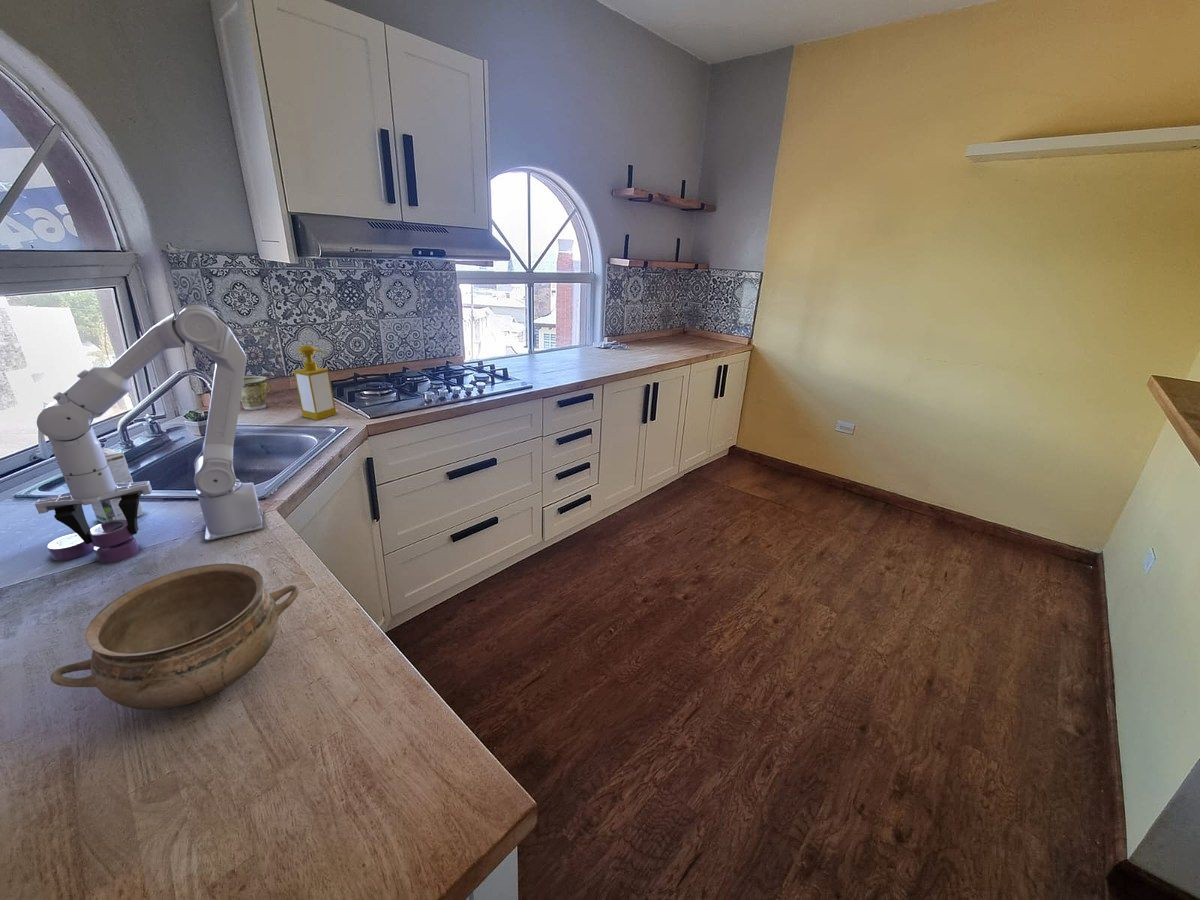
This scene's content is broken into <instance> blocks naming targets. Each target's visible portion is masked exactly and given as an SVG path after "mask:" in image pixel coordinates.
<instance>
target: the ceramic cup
mask: <svg viewBox="0 0 1200 900" xmlns="http://www.w3.org/2000/svg"><path fill="white" fill-rule="evenodd" d="M267 386H268V390H267ZM271 390H272V385H271V383H270V382H267V377H265V376H261V375H250V376H249V375H247V376H244V381H243V387H242V394H241V400H240V403H241V404H242V407H243V408H244V410H246V411H256V410H262V409H265V408H266V407H267V394H268V393H269V392H271Z"/></svg>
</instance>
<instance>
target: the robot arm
mask: <svg viewBox="0 0 1200 900" xmlns="http://www.w3.org/2000/svg"><path fill="white" fill-rule="evenodd" d="M176 313H177V314H176V318H175V312H173V313H171V314H170V315H168V316H166V317H165V318H163V319H162V320H160V321H159V322H157V323H156V324H155V325H153V326H152V327H150V328H149V330H147V331H146V332H145V333H144V334H143V335H142V336H141V337H139V339H137V340H136V341H135V342H134V343H133V344H132V345H131V346H130V347H128V349H126V351H124V352H123V353H122V354H121V355H120V356H119V357H118V358H116V360H114V362H112V363H111V364H110V365H105V366H93V367H91V368H90V369H89V370H87V369H85V368H84V369H82V370H81V371H80V372H79V373H77V375H76V377H77V378H78V379H77V380H75V382H74V383H73V384H72V385H70V386H69V387H68V388H67V389H66V390H64V391H63V392H60V391H57V392H56V393H55V394H54V395H53V396H52V398H53V401H51V402H49V403H48V404H47V405H46V406H45V407H44V408H43V409H42V410H41V412H40V413H39V414H38V416H37V418H36V426H37V429H38V431H39V432H40V433H41V434H42V435H44V436H45V437H47V439H48V442H49V443H50V445H51V447H52V448H51V451H52V453H53V455H54V458H55V460H56V462H57V465H58V467H59V470H60V472H61V474H62V477H63V478H64V482H65V484H66V487H67V489H68V492H65V493H64V492H63V493H60V494H57V495H52V496H48V497H44V498H38V499H37V500H36V501H35V503H34V506H35V508H36V511H37V513H38V514H39V515H41V514H45V513H49V511H54V513H55V514H54V515H53V517H54V519H55V520H56V521H57V522H60V523H61V524H63V525H65V526H66V527H68V528H69V529H71V530H72V531H73V532H74V533H77V534H78V535H79V536H80V537H81V539H82V540H83V541H84V542H85V544H90V543H91V539H90V537H89V535H88V531H89V530H90V529H91V528H90V526H89V523H88V521H87V519H86V516H85V512H84V508H83V506H89V505H91V504H95V503H98V502H100V501H106V500H112V499H117V498H121V500H120V502H119V504H118V505H119V507H120V509H121V510H122V512H123V514H124V516H125V518H126V520H127V523H128V527H129V530H130V532H131V534H132V535H133V534H134V535H137V534H138V531H139V526H138V517H137V511H138V505H139V501H140V500H141V496H142V495H143V496H147V495H151V494H152V492H153V488H152V485H151V482H150V480H144V481H138V482H137V481H135V482H134V481H133V483H118V484H115V481H114V479H113V476H112V474H111V471H110V468H109V466H108V463H107V460H106V458H105V455H104V453H103V450H102V449H103V447H102V445H101V442H100V440H99V439H98V437H97V435H96V432H95V429H94V427H93V425H91V424H92V423H93V421H94V419H97V418H100V417H102V416H103V415H104V414H105V413H106V412H108V411H109V410H110V409H111V408H112V407H113V406H115V404H116V403H118V402H119V401H120V400H121V399H122V398H124V397H125V396H126V395H127V394H128V393H129V392H130V391H131V388H132V387H131V383H130V379H131V378H132V377H134V376H135V375H136V374H137V373H139V372H140V371H141V370H142V369H144V368H145V367H146V366H147V365H148V364H150V363H151V362H152V361H153V360H155V359H156V358H157V357H158V356H159V355H161V354H162V353H163V352H165V351H166V350H168V349H169V350H170V349H178V348H185V347H186V342H187V343H189V344H191V345H192V346H194V347H196V348H198V349H200V350H202V351H203V352H204V353H205V354H206V355H207V356H208V357H209V358H210V359H211V360H212V361H213V362H214V363H215V364H214V371H213V378H212V379H213V380H212V384H211V385H212V386H211V392H210V393H211V394H210V398H209V399H210V400H209V407H208V412H207V421H206V428H205V432H204V433H205V434H204V440H203V444H202V449H201V451H200V453H199V455H198V456H196V458H195V460H194V462H193V468H194V476H193V477H194V478H193V484H194V487H195V488H196V489H195V493H196V496H197V499H198V503H199V505H200V509H201V512H202V515H203V519H204V522H205V532H204V541H205V542H209V541H213V540H217V539H221V538H226V537H227V538H228V537H230V536H235V535H239V534H240V535H241V534H244V533H249V532H253V531H257V530H262V529H263V528H264V527H263V517H262V516H263V515H264V514H263V509H262V506H260V502H259V498H258V494H257V490H256V486H255V483H254V482H241V480H240V479H238V477H236V473H235V469H234V444H235V438H236V432H237V426H238V419H239V412H240V406H241V394H242V387H243V381H244V377H245V374H246V367H247V360H248V359H247V355H246V353H245V351H244V349H243V347H242V345H241V344H240V342H239V341H238V339H237V337H236V336H235V335H234V332H233V331H232V330H231V329H232V328H230V326H229V323H228V322H227V321H226V320H225V319H224V318H223V317H222V316H221V315H220V314H219V313H218V312H217V311H215V310H214V309H213V308H212V307H210V306H208V305H206V304H204V303H198V302H194V303H193V302H192V303H187V304H185V305H183V306H181V307H180V308H179V310H178V311H177V312H176ZM134 535H133V536H134Z"/></svg>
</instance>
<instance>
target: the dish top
mask: <svg viewBox="0 0 1200 900" xmlns="http://www.w3.org/2000/svg"><path fill="white" fill-rule="evenodd" d="M46 548H47V549H48V552H49V554H50V556H51V559H52V560H54V561H56V562H58V561H59V562H63V561H69V560H73V559H78V558H80V557H82V556H85V555H88V553H89V554H90V553H91V552H92V551H94V546H93V544H92V542H91V543H90V544H85V542H84V541H83V540H82V539H81V537H80V536H79V535H78V534H77V533H76V532H74V533H71V534H67V535H63V536H60V537H57V538H55V539H53V540H52V541H50V542H49V543H48V544H47V545H46Z"/></svg>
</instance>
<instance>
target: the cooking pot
mask: <svg viewBox="0 0 1200 900" xmlns="http://www.w3.org/2000/svg"><path fill="white" fill-rule="evenodd" d="M264 583H265V582H264V578H263V575H262V574H261V573H260V571H258V569H257V570H256V569H255V568H254V567H252V566H248V565H246V564H240V563H229V562H228V563H227V562H225V563H224V562H223V563H211V564H204V565H199V566H198V565H197V566H193V567H189V568H185V569H179V570H177V571H173V572H171V573H166V574H165V575H161V576H159V577H156V578H154V579H152V580H149V581H147V582H144V583H142V584H141V585H138V586H136V587H134V588H132V589H130V590H129V591H127V592H126V593H123V594H122V595H119V596H118V597H117V598H116V599H114V600H113V601H111V602H110V603H108V604H107V605H106V606H105V607H103V608H102V610H100V611H99V612H98V613H97V614H96V615H95V616H94V618H92V620H91V621H90V623H89V624H88V626H87V628H86V631H85V635H84V637H85V642H86V644H87V646H88V647H89V649H91V650H92V652H91V658H89V659H86V660H82V661H79V662H73V663H70V664H67V665H63V666H60V667H57V668H56V669H54V671H52V673H51V674H50V681H51V682H52V683H53V684H55V685H56V686H61V687H66V688H97V689H98V691H99V692H100V693H101V694H102V695H103V696H104V697H105V698H107V699H109V700H110V701H112V702H114V703H115V704H117V705H119V706H123V707H127V708H131V709H135V710H146V711H147V710H148V711H154V710H155V711H156V710H167V709H172V708H177V707H182V706H185V705H188V704H192V703H196V702H199V701H201V700H205V698H208V697H211V696H213V695H215V694H216V693H219V692H221V691H223V690H224V689H226V688H228V687H230V686H231V685H233V684H234V683H236V682H238V681H239V680H240V679H242V678H243V677H244V676H246V675H247V674H248V673H249V672H250V671H251V670H252V669H253V668H255V667H256V666H257V665H258V664H259V662H260V661H262V659H263V658H264V657H265V656H266V654H267V652H269V650H270V648H271V646H272V645H273V642H274V640H275V638H276V635H277V632H278V630H279V622H280V615H281V614H282V613H283V612H285V610H286V609H288V608H289V607H290V606H292V605H293V603H294V602H295V600H296V599H297V598H298V595H299V593H300V589H299V586H297V585H295V584H291V585H287V586H285V587H283V588H281V589H278V590H275V591H271V592H269V591H268V590H267V589H266V588H265V586H264ZM289 593H290V594H289ZM287 594H289V596H288V597H287V598H286V599H285V600H284V601H282V602H281V603H276V602H277V601H278V600H280V599H281V598H282V597H284V596H285V595H287ZM87 670H88V671H90V670H91V674H90V675H88V676H83V677H77V678H75V677H67V676H63V675H65V674H69V673H73V672H80V671H87Z"/></svg>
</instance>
